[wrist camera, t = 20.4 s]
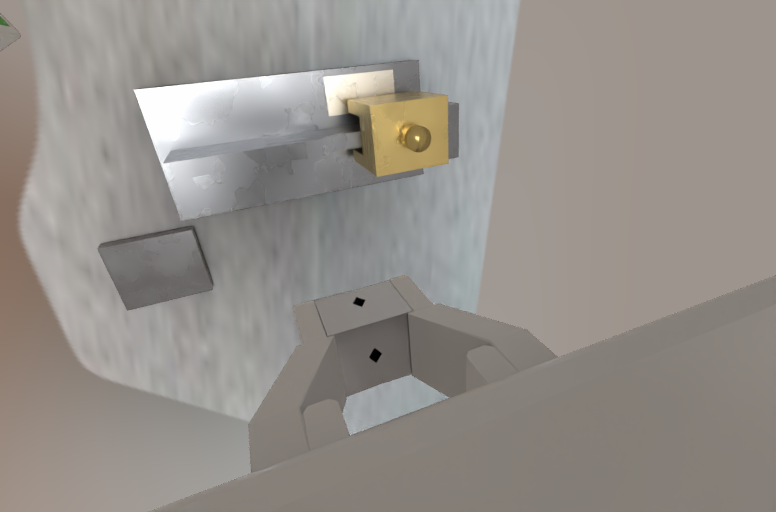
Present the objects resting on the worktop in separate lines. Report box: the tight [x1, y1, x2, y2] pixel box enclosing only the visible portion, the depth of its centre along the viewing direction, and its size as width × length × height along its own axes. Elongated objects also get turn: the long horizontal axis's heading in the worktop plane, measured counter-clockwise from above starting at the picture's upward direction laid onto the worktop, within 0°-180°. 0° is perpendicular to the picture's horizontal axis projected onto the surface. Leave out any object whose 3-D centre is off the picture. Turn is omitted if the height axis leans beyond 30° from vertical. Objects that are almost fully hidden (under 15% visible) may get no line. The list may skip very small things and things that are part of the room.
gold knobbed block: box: [347, 91, 448, 177], centre depth 30 cm, size 5×6×7 cm
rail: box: [134, 60, 459, 221], centre depth 30 cm, size 10×22×8 cm, turn 95°
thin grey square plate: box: [98, 226, 213, 311], centre depth 34 cm, size 6×7×1 cm
